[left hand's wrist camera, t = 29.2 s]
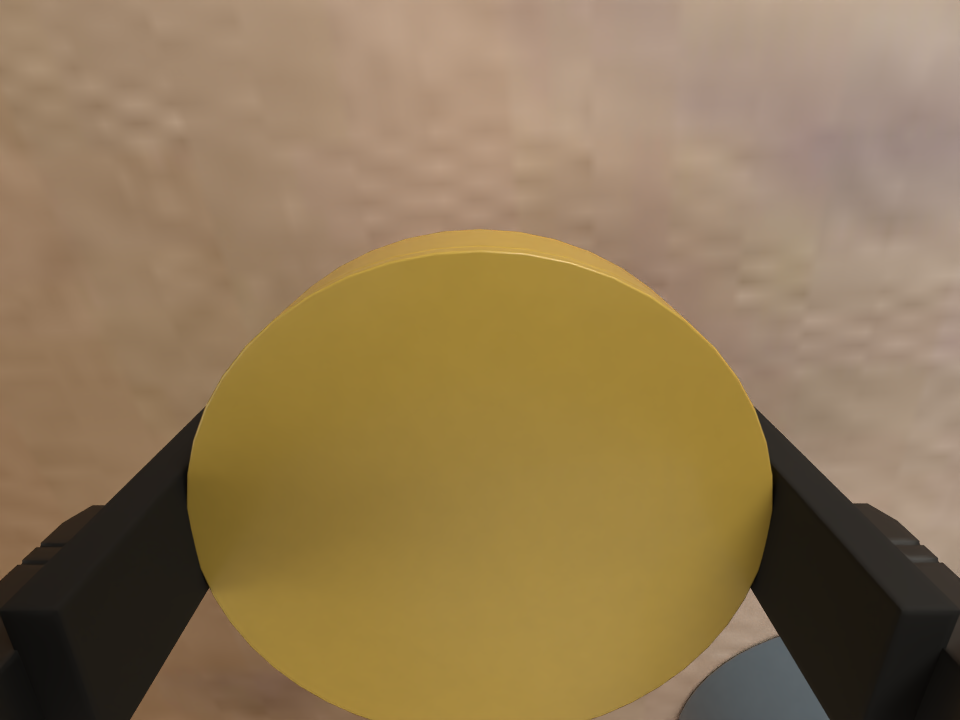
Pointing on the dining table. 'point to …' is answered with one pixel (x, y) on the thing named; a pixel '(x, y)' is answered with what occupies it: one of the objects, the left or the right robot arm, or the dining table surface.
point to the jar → (755, 689)
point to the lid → (479, 484)
